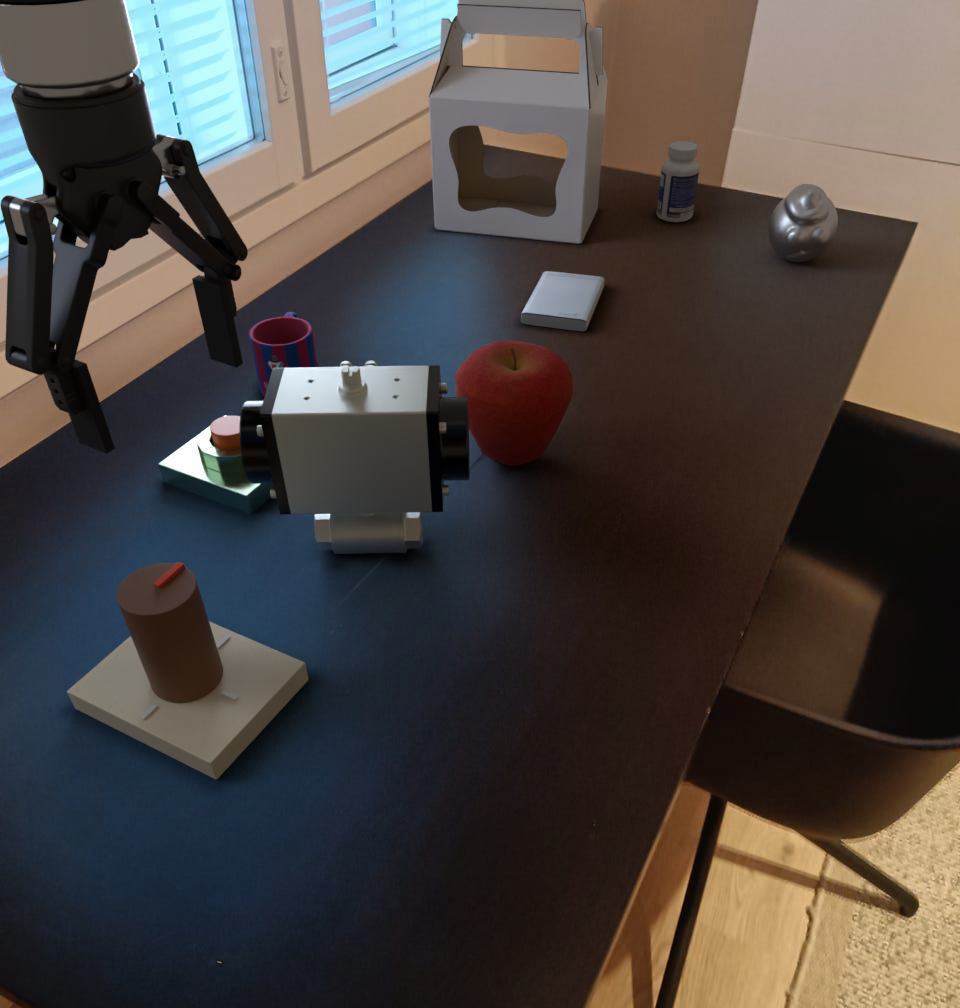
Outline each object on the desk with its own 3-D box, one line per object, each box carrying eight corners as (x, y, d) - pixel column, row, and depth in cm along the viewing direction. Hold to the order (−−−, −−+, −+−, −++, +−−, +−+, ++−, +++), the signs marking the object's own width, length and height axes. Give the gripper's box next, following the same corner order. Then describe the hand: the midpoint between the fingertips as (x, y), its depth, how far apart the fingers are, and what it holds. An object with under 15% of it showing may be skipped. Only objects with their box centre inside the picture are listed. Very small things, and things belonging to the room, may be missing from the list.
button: (205, 445, 89) (201, 429, 88) (229, 427, 92) (226, 411, 90) (234, 455, 88) (231, 439, 87) (258, 436, 90) (255, 421, 89)
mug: (252, 401, 102) (240, 343, 97) (279, 356, 109) (268, 301, 104) (311, 405, 101) (302, 347, 96) (334, 360, 108) (326, 304, 103)
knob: (191, 712, 68) (158, 621, 61) (135, 687, 69) (97, 596, 63) (237, 665, 71) (211, 573, 64) (183, 642, 73) (152, 550, 66)
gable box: (432, 230, 135) (422, 0, 115) (457, 197, 144) (451, -22, 124) (583, 245, 130) (599, 9, 111) (599, 210, 139) (617, -14, 119)
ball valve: (471, 512, 87) (466, 336, 75) (471, 571, 81) (466, 391, 69) (280, 515, 87) (244, 340, 75) (267, 575, 81) (225, 395, 69)
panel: (74, 708, 71) (65, 689, 69) (173, 620, 77) (167, 601, 76) (216, 780, 66) (209, 761, 64) (308, 679, 73) (305, 660, 71)
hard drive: (587, 319, 111) (605, 275, 120) (520, 312, 113) (543, 269, 121) (586, 332, 112) (604, 288, 121) (520, 324, 114) (542, 281, 122)
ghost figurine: (747, 262, 126) (763, 185, 119) (781, 240, 131) (798, 165, 124) (808, 281, 122) (828, 202, 114) (841, 258, 127) (862, 180, 119)
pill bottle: (699, 215, 137) (710, 144, 131) (678, 226, 135) (688, 154, 128) (669, 206, 140) (678, 136, 133) (648, 216, 137) (656, 145, 130)
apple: (466, 495, 89) (463, 382, 81) (451, 434, 97) (447, 325, 88) (578, 483, 90) (587, 371, 82) (555, 424, 98) (560, 315, 89)
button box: (163, 482, 91) (152, 447, 89) (229, 433, 97) (221, 399, 95) (251, 514, 88) (242, 479, 85) (313, 461, 94) (308, 427, 91)
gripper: (177, 24, 63) (237, 320, 78) (-162, 129, 48) (-6, 471, 63) (264, 38, 60) (308, 342, 75) (-67, 153, 45) (72, 504, 60)
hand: (166, 401), depth 69 cm, fingers open, 13 cm apart
